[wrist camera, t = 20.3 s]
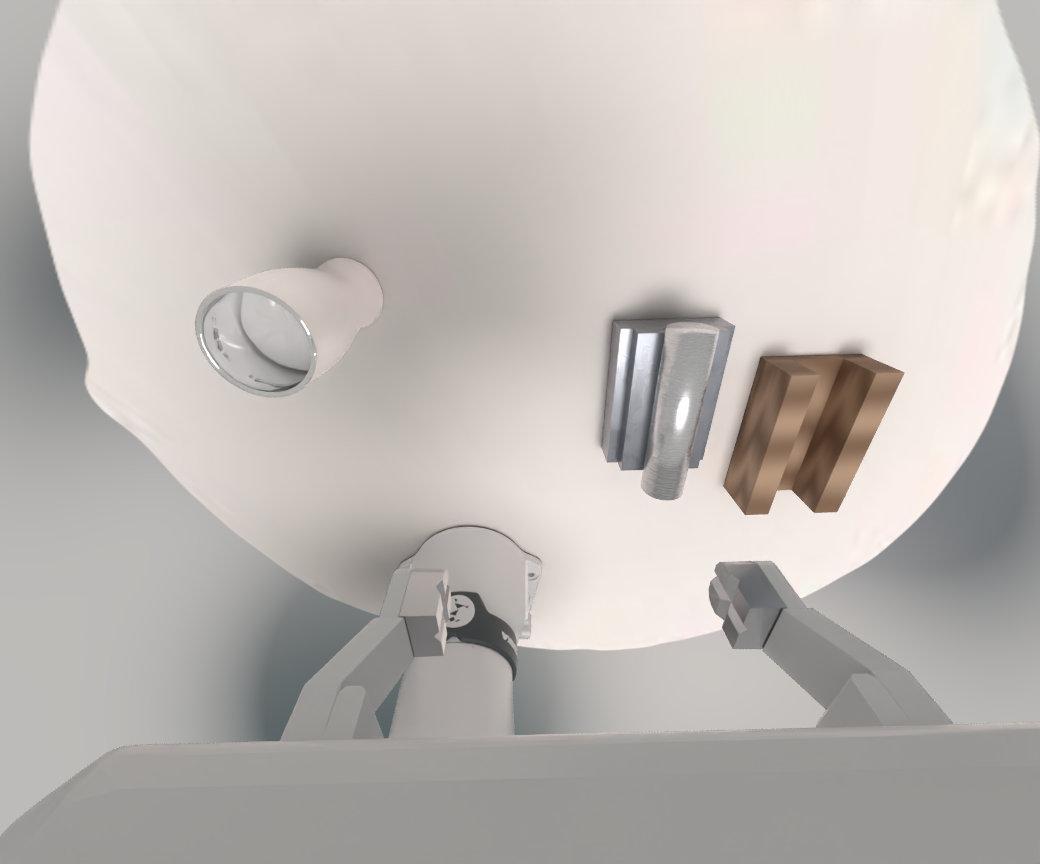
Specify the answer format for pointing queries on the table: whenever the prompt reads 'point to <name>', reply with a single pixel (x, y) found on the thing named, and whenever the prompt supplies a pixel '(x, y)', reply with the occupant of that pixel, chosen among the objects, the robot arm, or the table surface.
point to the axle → (677, 406)
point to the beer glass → (286, 324)
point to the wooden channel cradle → (808, 428)
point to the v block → (650, 388)
